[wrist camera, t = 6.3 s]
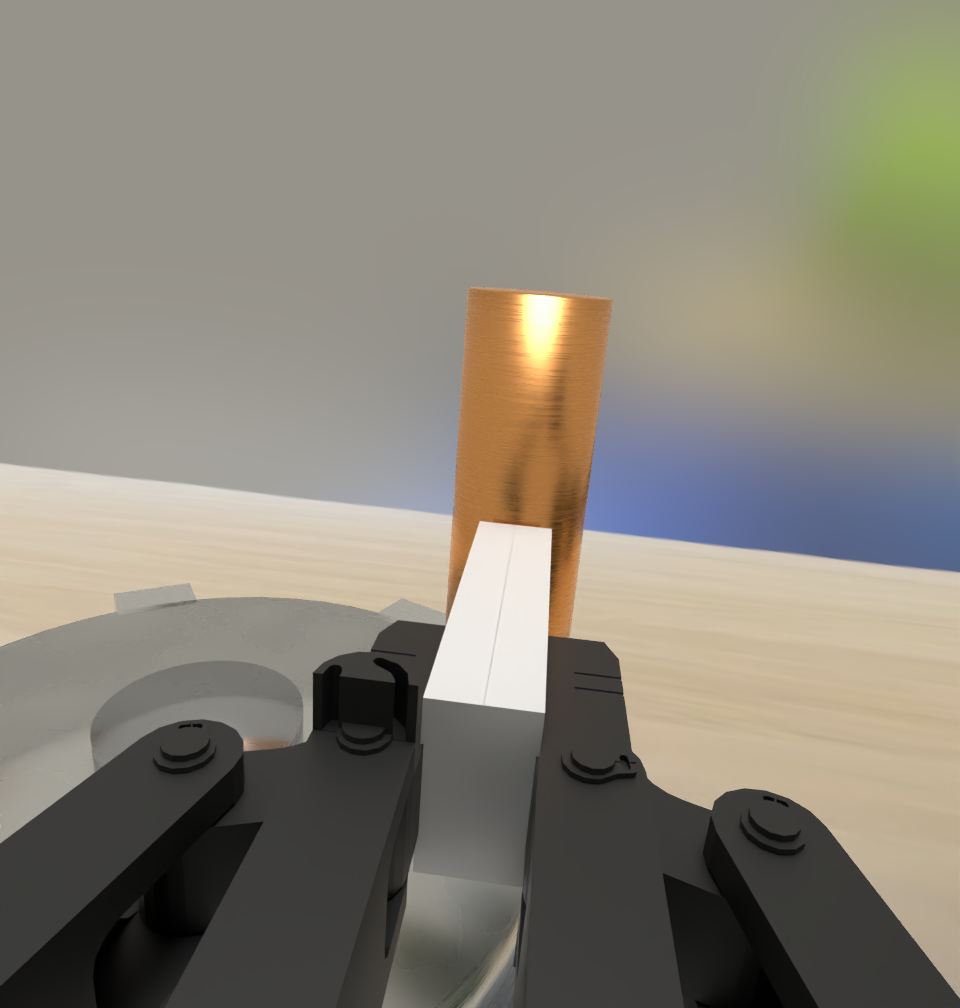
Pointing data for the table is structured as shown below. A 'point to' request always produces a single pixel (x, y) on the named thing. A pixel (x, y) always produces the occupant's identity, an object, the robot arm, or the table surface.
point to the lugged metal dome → (336, 630)
